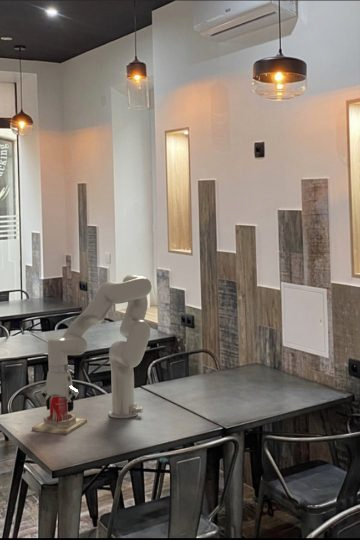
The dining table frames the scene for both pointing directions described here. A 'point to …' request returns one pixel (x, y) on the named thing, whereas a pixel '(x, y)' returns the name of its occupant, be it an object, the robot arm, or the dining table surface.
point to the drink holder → (60, 425)
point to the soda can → (58, 408)
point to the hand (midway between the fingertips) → (60, 409)
